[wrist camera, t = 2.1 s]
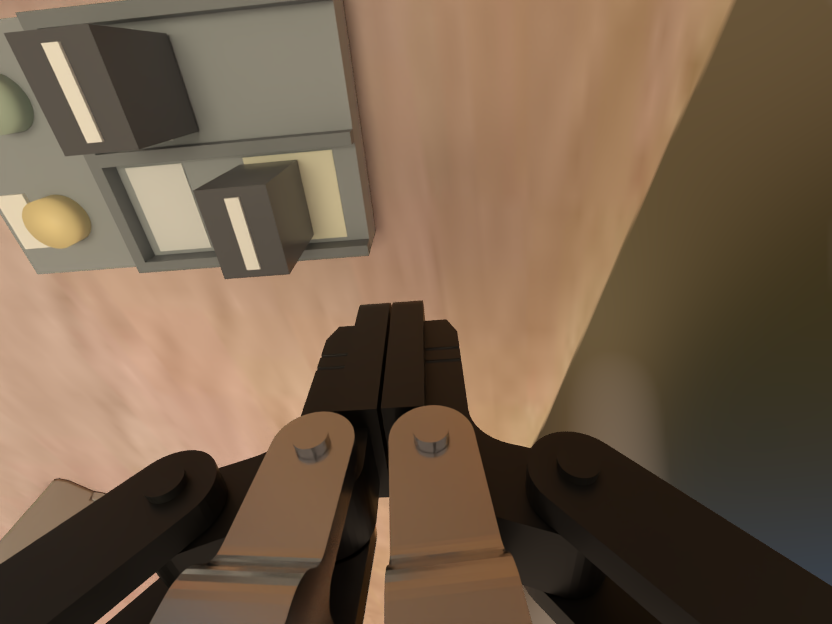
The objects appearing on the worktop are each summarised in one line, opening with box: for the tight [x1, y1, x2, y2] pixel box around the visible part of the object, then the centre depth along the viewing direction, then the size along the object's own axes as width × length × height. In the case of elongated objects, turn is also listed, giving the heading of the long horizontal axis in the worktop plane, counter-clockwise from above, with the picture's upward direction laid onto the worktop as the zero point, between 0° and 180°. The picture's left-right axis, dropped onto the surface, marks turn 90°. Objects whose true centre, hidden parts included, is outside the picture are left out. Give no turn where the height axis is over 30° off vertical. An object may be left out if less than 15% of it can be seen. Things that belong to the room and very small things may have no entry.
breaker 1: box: [4, 24, 199, 156], centre depth 17 cm, size 3×4×5 cm
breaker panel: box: [0, 0, 376, 274], centre depth 22 cm, size 20×12×4 cm, turn 95°
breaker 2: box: [193, 160, 314, 279], centre depth 20 cm, size 3×4×5 cm
